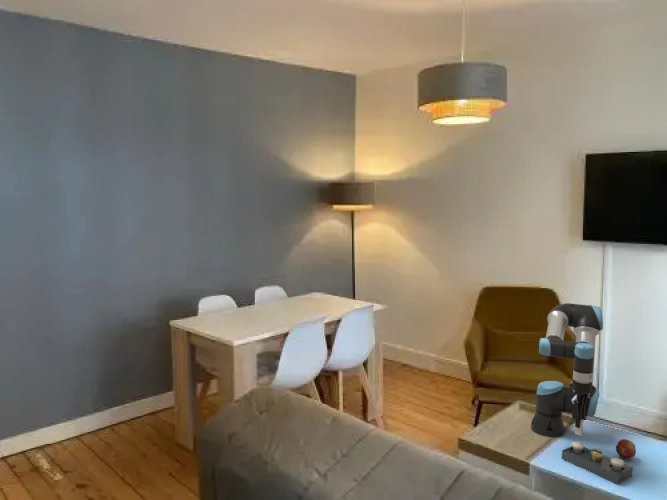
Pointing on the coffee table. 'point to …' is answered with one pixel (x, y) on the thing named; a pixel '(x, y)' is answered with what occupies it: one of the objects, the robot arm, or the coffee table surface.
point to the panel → (597, 465)
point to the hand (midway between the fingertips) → (578, 434)
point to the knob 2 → (617, 463)
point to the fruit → (626, 449)
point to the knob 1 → (577, 447)
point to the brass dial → (596, 455)
